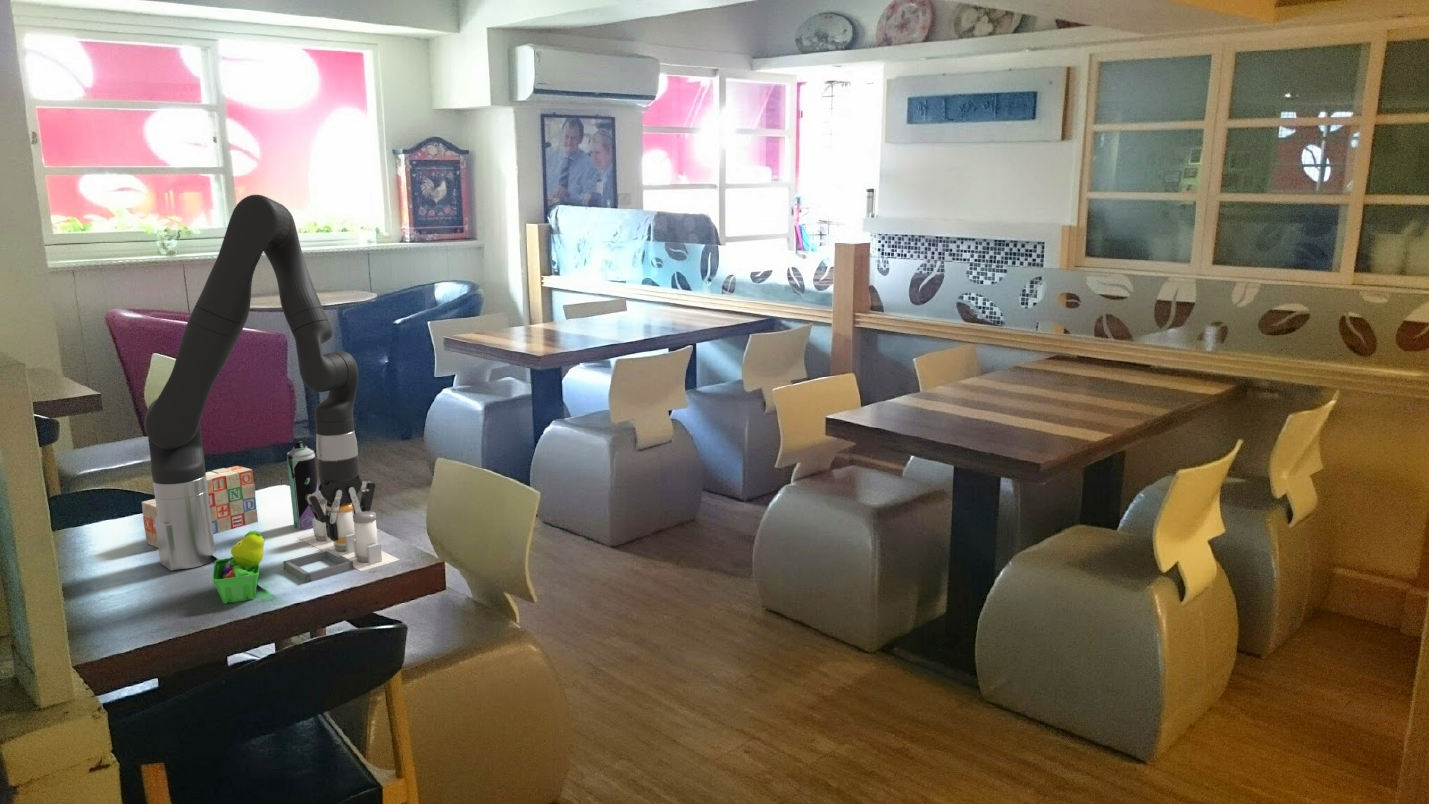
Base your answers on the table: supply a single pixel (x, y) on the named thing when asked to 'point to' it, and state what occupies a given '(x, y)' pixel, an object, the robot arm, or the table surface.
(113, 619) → the table surface
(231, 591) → the fruit basket
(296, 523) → the spray can
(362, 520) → the fuse right
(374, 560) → the fuse strip
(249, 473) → the stack of blocks
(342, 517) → the fuse marked
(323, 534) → the fuse left
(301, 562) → the tray
